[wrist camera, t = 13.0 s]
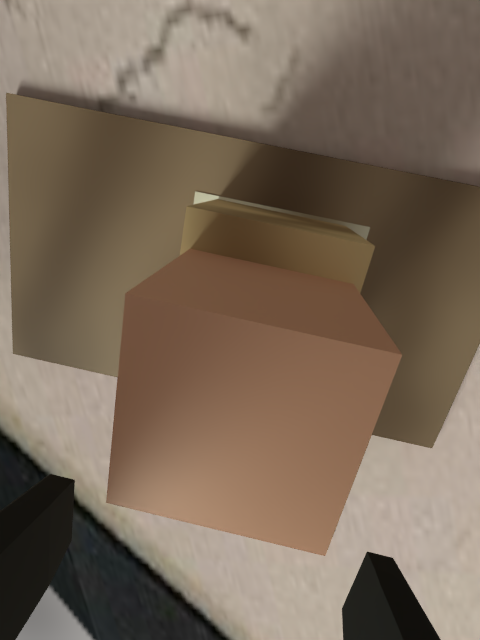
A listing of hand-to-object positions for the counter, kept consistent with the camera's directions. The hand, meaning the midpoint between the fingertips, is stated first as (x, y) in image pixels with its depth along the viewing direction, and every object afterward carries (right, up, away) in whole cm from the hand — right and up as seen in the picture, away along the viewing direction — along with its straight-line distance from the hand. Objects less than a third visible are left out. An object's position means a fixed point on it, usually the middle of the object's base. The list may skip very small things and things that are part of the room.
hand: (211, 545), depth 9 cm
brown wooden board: (+1, +7, +7) cm, 10 cm away
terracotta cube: (+1, +5, +2) cm, 5 cm away
